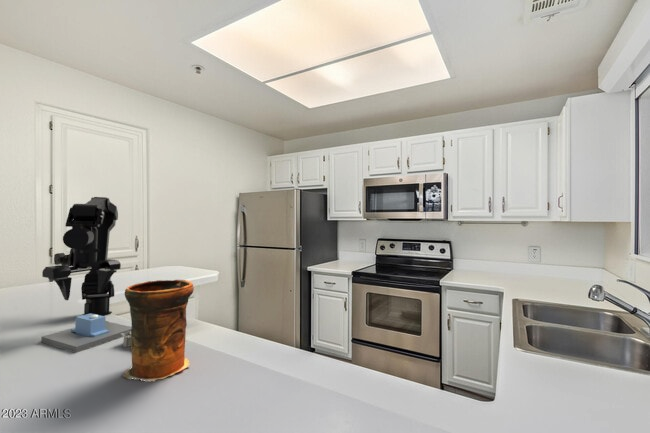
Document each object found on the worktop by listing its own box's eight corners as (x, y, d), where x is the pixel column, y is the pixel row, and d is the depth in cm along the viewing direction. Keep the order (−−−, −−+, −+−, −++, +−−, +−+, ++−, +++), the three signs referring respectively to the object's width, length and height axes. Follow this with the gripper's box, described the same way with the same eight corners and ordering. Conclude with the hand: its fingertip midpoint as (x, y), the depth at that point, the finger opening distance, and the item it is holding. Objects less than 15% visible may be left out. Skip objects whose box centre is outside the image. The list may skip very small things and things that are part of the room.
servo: (85, 332, 94) (86, 310, 94) (109, 338, 90) (110, 315, 90) (70, 336, 90) (71, 314, 91) (94, 342, 86) (95, 319, 86)
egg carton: (169, 342, 88) (170, 328, 89) (147, 353, 81) (147, 337, 81) (142, 336, 92) (142, 323, 92) (118, 346, 85) (118, 331, 85)
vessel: (155, 390, 63) (157, 292, 64) (107, 378, 68) (109, 287, 69) (205, 361, 77) (206, 281, 77) (162, 353, 82) (163, 277, 82)
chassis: (101, 324, 101) (101, 320, 101) (134, 332, 95) (135, 327, 95) (41, 342, 86) (41, 336, 86) (76, 352, 80) (76, 346, 80)
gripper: (100, 241, 105) (98, 287, 105) (31, 246, 88) (30, 300, 88) (122, 243, 101) (121, 291, 101) (55, 248, 84) (53, 305, 84)
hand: (83, 296), depth 93 cm, fingers open, 9 cm apart
